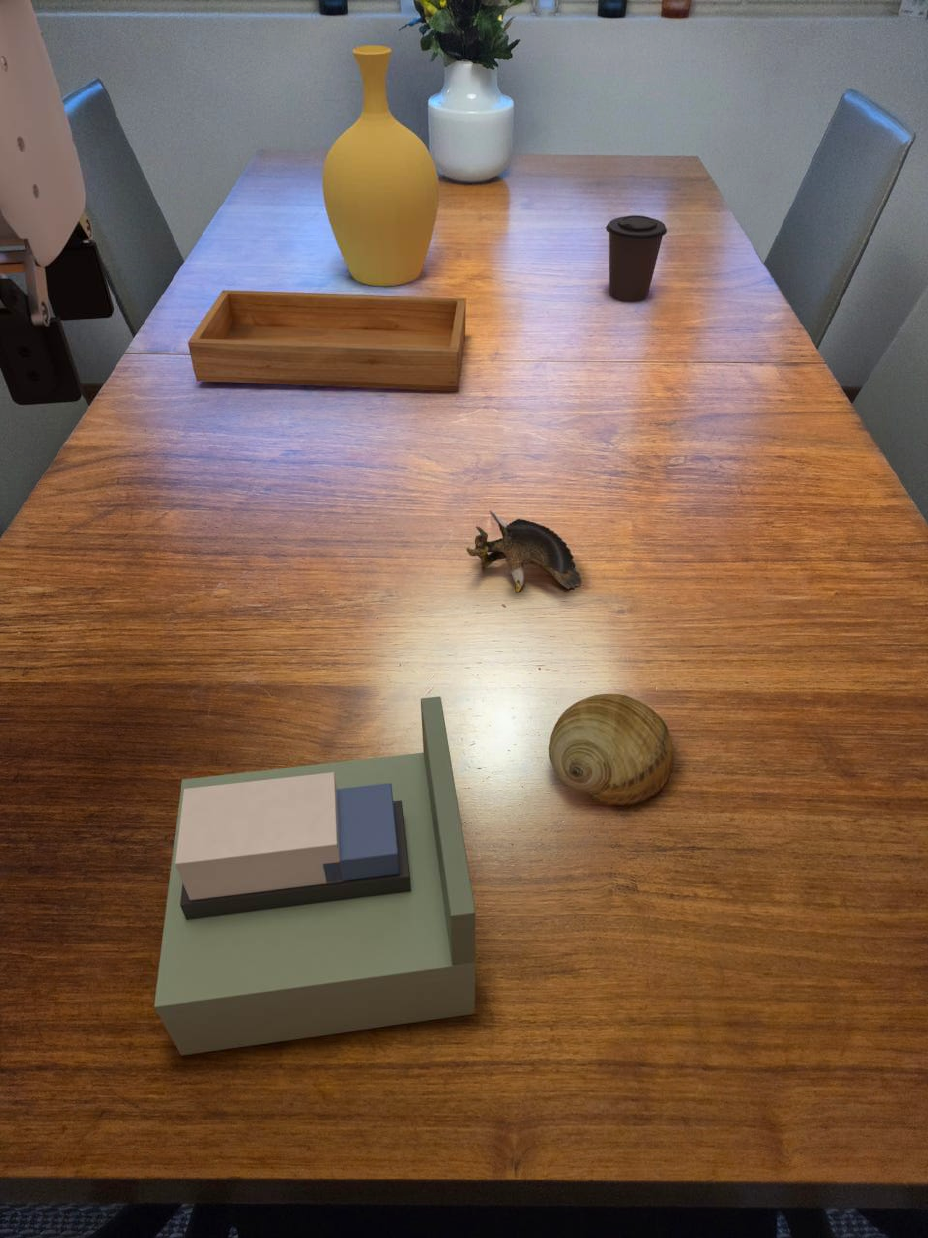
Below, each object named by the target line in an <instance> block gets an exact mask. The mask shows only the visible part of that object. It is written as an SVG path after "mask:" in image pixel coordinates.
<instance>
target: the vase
mask: <svg viewBox="0 0 928 1238" xmlns="http://www.w3.org/2000/svg"><path fill="white" fill-rule="evenodd" d="M352 54H353V57H354V59H355V62H356V65H357V66H358V69H359V72H360V75H361V79H362V80H361V81H362V88H363V99H362V101H363V102H362V103H363V104H362V111H361V113H360V116H359V118H357V120H356V121H355V122H354V123H353V124H352V125H351V126H350V127H348V129H346V130H345V131H344V132H343V133H341V135H340V136H339V137H337V139H336V140H335V142H334V143H333V144H332V145H331V147H330V148H329V151H328V152H327V155H326V157H325V160H324V163H323V168H322V178H321V179H322V181H321V182H322V193H323V194H322V195H323V201H324V207H325V211H326V215H327V218H328V221H329V225H330V228H331V231H332V235H333V236H334V239H335V241H336V244H337V247H338V249H339V251H340V254H341V256H342V259H343V261H344V263H345V265H346V267H347V270H348V272H349V273H350V276H351V277H352V278H353V280H355V281H356V282H358V283H361V284H363V285H367V286H372V287H396V286H401V285H405V284H408V283H410V282H411V283H412V282H413V281H415V280H417V279H418V278H420V275H421V274H422V271H423V268H424V264H425V261H426V260H427V256H428V252H429V249H430V246H431V241H432V238H433V234H434V230H435V226H436V220H437V216H438V215H437V214H438V208H439V201H440V184H439V176H438V171H437V167H436V164H435V162H434V160H433V158H432V155H431V153H430V151H429V149H428V148H427V146H426V145H425V143H424V142H423V141H422V139H421V138H420V137H419V136H417V134H415V133H414V132H413V131H412V130H411V129H409V128H407V127H406V126H405V125H403V124H402V123H401V122H400V121H398V119H396V118H395V117H394V116H393V115H392V113H391V111H390V108H389V104H388V99H387V89H386V77H387V71H388V67H389V63H390V59H391V55H392V48H390V47H388V46H385V45H377V44H376V45H375V44H374V45H362V46H357V47H354V48H353V49H352Z"/></svg>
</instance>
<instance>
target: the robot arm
mask: <svg viewBox="0 0 928 1238" xmlns="http://www.w3.org/2000/svg"><path fill="white" fill-rule="evenodd" d="M50 59H51V58H50V56H49V53H48V50H47V47H46V44H45V40H44V34H43V32H42V30H41V28H40V26H39V23H38V20H37V16H36V14H35V11H34V7H33V5H32V2H31V0H0V248H1V247H2V248H3V247H4V248H5V247H23V246H24V249H9V250H8V249H7V250H0V372H1V374H2V378H3V380H4V382H5V384H6V387H7V390H8V392H9V395H10V397H11V399H12V401H13V402H14V403H15V404H17V405H19V406H34V405H48V404H49V405H50V404H65V403H76V402H79V401H80V400H81V399H82V396H83V393H84V387H83V384H82V382H81V379H80V376H79V373H78V370H77V366H76V364H75V361H74V357H73V355H72V351H71V348H70V345H69V342H68V339H67V336H66V332H65V329H64V326H63V323H62V321H63V322H66V321H83V320H98V319H101V320H102V319H109V318H111V317H112V316H113V315H114V313H115V306H114V302H113V298H112V295H111V291H110V287H109V284H108V281H107V277H106V274H105V270H104V266H103V261H102V259H101V255H100V251H99V248H98V245H97V242H96V241H93V239H94V232H93V227H92V223H91V220H90V218H89V216H88V214H87V213H86V211H85V209H86V202H87V194H86V193H87V192H86V186H85V180H84V176H83V172H82V171H83V170H82V166H81V163H80V159H79V155H78V150H77V146H76V143H75V140H74V135H73V132H72V128H71V125H70V121H69V119H68V114H67V111H66V107H65V105H64V102H63V98H62V95H61V91H60V87H59V85H58V82H57V81H58V80H57V78H56V75H55V72H54V68H53V65H52V62H51V60H50ZM88 241H90V242H88ZM22 273H24V281H25V283H24V284H25V291H26V293H25V291H24V290H22V288H20V286H18V284H17V283H16V282H15V281H14V280H13V279H12V278H10V277H4V278H3V277H2V275H5V274H6V275H7V274H22ZM50 307H51V309H52V312H53V317H51V311H50Z"/></svg>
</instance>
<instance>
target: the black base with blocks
mask: <svg viewBox="0 0 928 1238" xmlns="http://www.w3.org/2000/svg"><path fill="white" fill-rule="evenodd" d="M175 865H176V868H177V870H178V872H179V875H180V877H181V880H182V891H181V900H180V907H181V909H182V911H183V914H184V916H185V918H186V920H189V919H197V918H204V917H212V916H220V915H228V914H236V913H244V912H251V911H259V910H267V909H275V908H283V907H291V906H298V905H306V904H314V903H322V902H330V901H338V900H345V899H353V898H361V897H369V896H377V895H385V894H392V893H400V892H408V891H411V883H410V872H409V863H408V853H407V844H406V834H405V825H404V815H403V806H402V801H401V800H400V801H393V794H392V785H391V783H387V784H378V785H370V786H361V787H352V788H344V789H337V785H336V779H335V773H334V772H331V773H322V774H314V775H305V776H296V777H287V778H278V779H269V780H261V781H252V782H243V783H234V784H225V785H216V786H208V787H199V788H190V789H184V791H183V800H182V808H181V817H180V825H179V833H178V842H177V850H176V858H175Z"/></svg>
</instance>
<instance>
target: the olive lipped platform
mask: <svg viewBox="0 0 928 1238" xmlns="http://www.w3.org/2000/svg"><path fill="white" fill-rule="evenodd" d="M443 708H444V707H443V702H442V697H441V696H440V695H439V696H430V697H422V698H420V713H421V732H422V748H423V750H422V751H423V752H417V753H405V754H399V755H389V756H381V757H379V756H378V757H371V758H363V759H354V760H344V761H335V762H325V763H317V764H316V763H315V764H308V765H300V766H291V767H281V768H272V769H262V770H254V771H247V772H245V771H244V772H237V773H227V774H219V775H209V776H202V777H192V778H185V779H184V778H183V779H181V782H180V783H181V784H180V790H179V791H180V792H179V798H178V799H179V800H178V809H177V814H176V815H177V816H176V825H175V833H174V839H173V848H172V856H171V857H172V858H171V865H170V873H169V882H168V888H167V897H166V906H165V913H164V921H163V930H162V937H161V938H162V940H161V947H160V954H159V961H158V962H159V963H158V971H157V978H156V979H157V980H156V988H155V996H154V1003H153V1008H154V1009H155V1011H156V1013H157V1015H158V1018H159V1019H160V1020H161V1022H162V1024H163V1026H164V1027H165V1029H166V1031H167V1033H168V1034H169V1037H170V1038H171V1040H172V1042H173V1044H174V1046H175V1048H176V1050H177V1051H178V1053H179V1055H180V1056H187V1055H195V1054H203V1053H208V1052H215V1051H222V1050H223V1051H224V1050H230V1049H231V1050H232V1049H238V1048H243V1047H251V1046H258V1045H265V1044H270V1043H271V1044H272V1043H278V1042H286V1041H293V1040H300V1039H301V1040H302V1039H307V1038H313V1037H314V1038H315V1037H321V1036H328V1035H329V1036H330V1035H334V1034H341V1033H350V1032H356V1031H363V1030H370V1029H378V1028H386V1027H392V1026H399V1025H405V1024H412V1023H420V1022H426V1021H427V1022H428V1021H435V1020H441V1019H448V1018H454V1017H455V1018H456V1017H462V1016H469V1015H474V1014H475V1011H476V921H477V920H476V919H477V918H476V916H477V915H476V914H477V912H476V906H475V899H474V894H473V887H472V882H471V881H472V880H471V874H470V869H469V862H468V857H467V851H466V844H465V837H464V832H463V827H462V826H463V825H462V819H461V815H460V814H461V813H460V808H459V802H458V801H459V799H458V794H457V788H456V783H455V777H454V776H455V775H454V771H453V764H452V757H451V752H450V751H451V750H450V745H449V740H448V733H447V728H446V727H447V726H446V721H445V714H444V709H443ZM331 772H334V773H335V779H336V785H337V789H344V788H352V787H361V786H370V785H378V784H387V783H391V785H392V794H393V801H400V800H401V801H402V806H403V815H404V825H405V834H406V844H407V853H408V863H409V872H410V883H411V891H408V892H400V893H392V894H385V895H377V896H369V897H361V898H353V899H345V900H338V901H330V902H322V903H314V904H306V905H298V906H291V907H283V908H275V909H267V910H259V911H251V912H244V913H236V914H228V915H220V916H212V917H204V918H197V919H189V920H186V918H185V916H184V914H183V911H182V909H181V907H180V900H181V891H182V880H181V877H180V875H179V872H178V870H177V868H176V865H175V858H176V850H177V842H178V833H179V825H180V817H181V808H182V800H183V791H184V789H190V788H199V787H208V786H216V785H225V784H234V783H243V782H252V781H261V780H269V779H278V778H287V777H296V776H305V775H314V774H322V773H331Z"/></svg>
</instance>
